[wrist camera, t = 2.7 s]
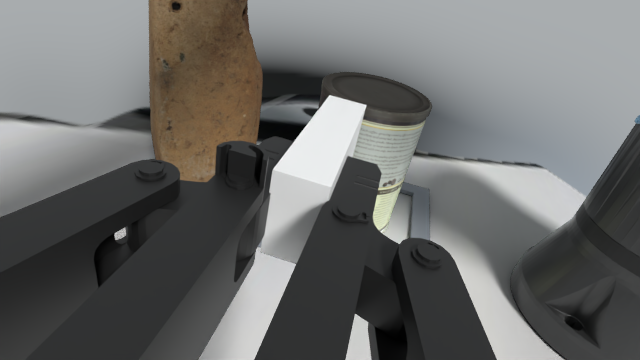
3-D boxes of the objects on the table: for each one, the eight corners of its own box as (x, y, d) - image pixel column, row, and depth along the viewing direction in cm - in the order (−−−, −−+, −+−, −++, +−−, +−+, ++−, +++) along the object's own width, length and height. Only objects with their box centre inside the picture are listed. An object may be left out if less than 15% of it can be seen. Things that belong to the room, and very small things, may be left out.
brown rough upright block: (155, 190, 39) (144, -27, 29) (151, 154, 45) (141, -38, 34) (257, 183, 44) (280, -6, 33) (242, 151, 49) (258, -19, 39)
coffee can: (281, 215, 40) (302, 84, 32) (323, 175, 48) (347, 65, 41) (372, 257, 37) (418, 124, 29) (399, 208, 45) (441, 95, 38)
